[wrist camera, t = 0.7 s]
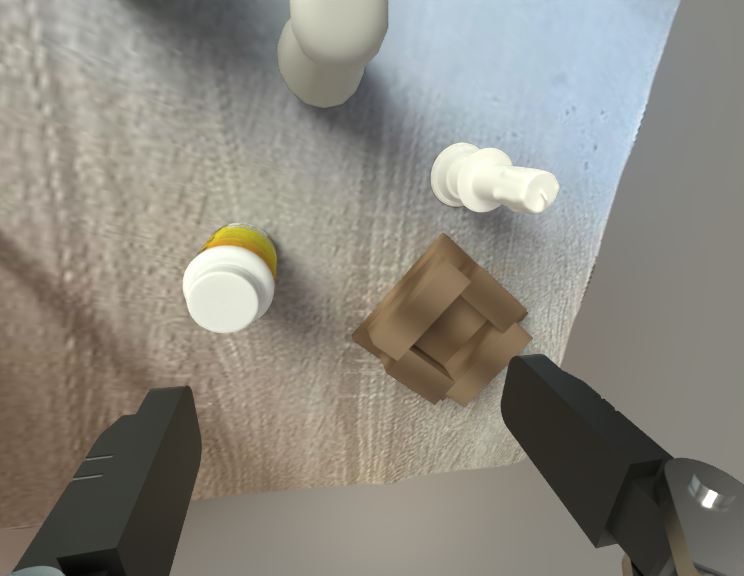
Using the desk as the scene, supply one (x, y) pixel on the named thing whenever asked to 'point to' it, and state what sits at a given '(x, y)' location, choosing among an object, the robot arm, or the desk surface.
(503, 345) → the wooden square tray
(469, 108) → the desk surface
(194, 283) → the supplement bottle
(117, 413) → the desk surface
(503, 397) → the robot arm
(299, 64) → the salt shaker
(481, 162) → the candle
